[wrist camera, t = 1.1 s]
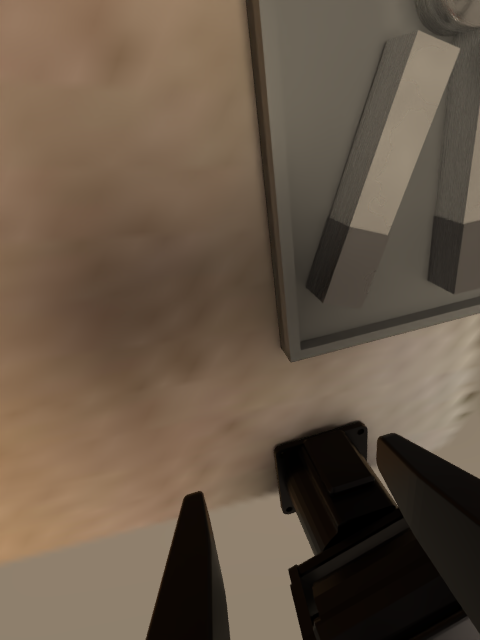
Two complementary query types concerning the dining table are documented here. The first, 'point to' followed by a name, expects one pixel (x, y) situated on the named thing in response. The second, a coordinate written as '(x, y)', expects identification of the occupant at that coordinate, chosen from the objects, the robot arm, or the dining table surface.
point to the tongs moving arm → (380, 165)
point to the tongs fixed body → (457, 150)
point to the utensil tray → (339, 169)
